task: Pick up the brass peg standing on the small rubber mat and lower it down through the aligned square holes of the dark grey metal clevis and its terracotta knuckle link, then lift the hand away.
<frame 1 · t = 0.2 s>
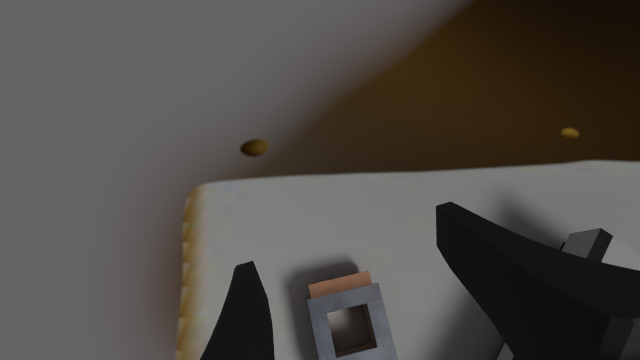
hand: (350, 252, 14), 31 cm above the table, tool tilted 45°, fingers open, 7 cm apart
clevis: (347, 326, 42), on the table
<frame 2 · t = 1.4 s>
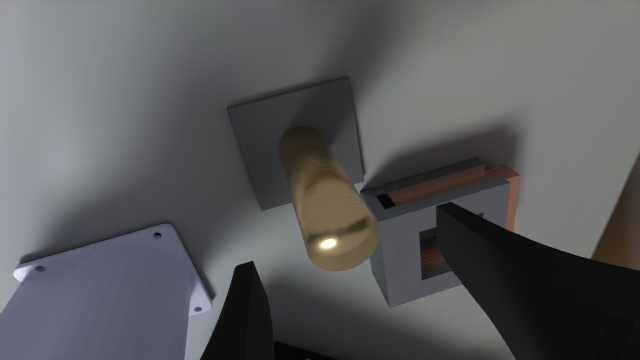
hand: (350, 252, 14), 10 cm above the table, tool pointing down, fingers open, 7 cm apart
clevis: (426, 217, 27), on the table
rubber mat: (301, 146, 22), on the table
brass peg: (302, 149, 22), resting on rubber mat
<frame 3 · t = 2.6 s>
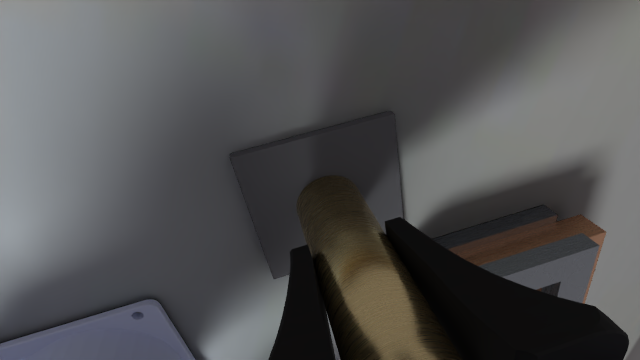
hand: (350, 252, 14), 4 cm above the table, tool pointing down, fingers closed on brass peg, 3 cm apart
clevis: (475, 275, 22), on the table
rubber mat: (326, 199, 17), on the table
brass peg: (328, 203, 17), resting on rubber mat, touching gripper
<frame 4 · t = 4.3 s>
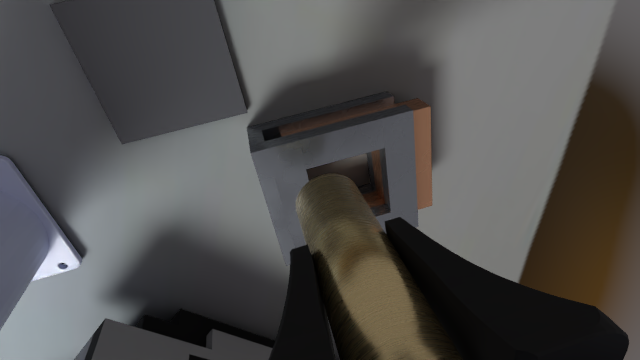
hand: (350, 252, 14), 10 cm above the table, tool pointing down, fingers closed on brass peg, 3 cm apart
clevis: (335, 164, 24), on the table
rubber mat: (161, 63, 19), on the table
brass peg: (328, 202, 17), point 7 cm above the table, touching gripper
when the fingers open (5 cm above the table, at t = 6.1 s): brass peg drops 2 cm, resting in clevis.
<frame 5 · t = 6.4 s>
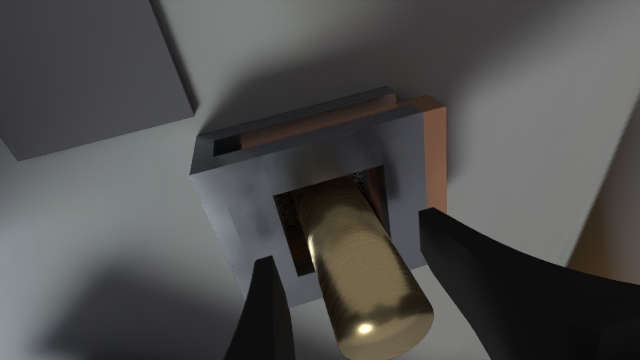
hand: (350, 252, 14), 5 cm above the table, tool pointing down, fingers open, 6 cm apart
clevis: (319, 182, 18), on the table
rubber mat: (63, 47, 13), on the table
brass peg: (319, 181, 18), resting in clevis
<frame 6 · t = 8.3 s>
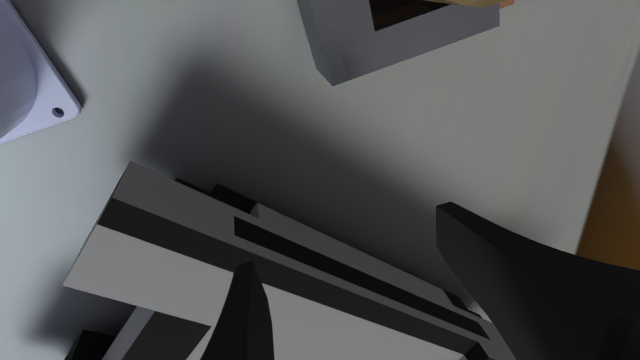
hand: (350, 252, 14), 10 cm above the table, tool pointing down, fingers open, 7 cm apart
game console: (278, 322, 31), on the table
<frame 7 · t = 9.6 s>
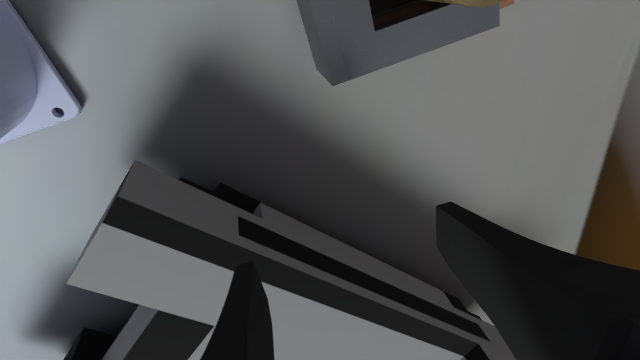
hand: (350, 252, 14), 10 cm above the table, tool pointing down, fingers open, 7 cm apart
game console: (279, 322, 31), on the table
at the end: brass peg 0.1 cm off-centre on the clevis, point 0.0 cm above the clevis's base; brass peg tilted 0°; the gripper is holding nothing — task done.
